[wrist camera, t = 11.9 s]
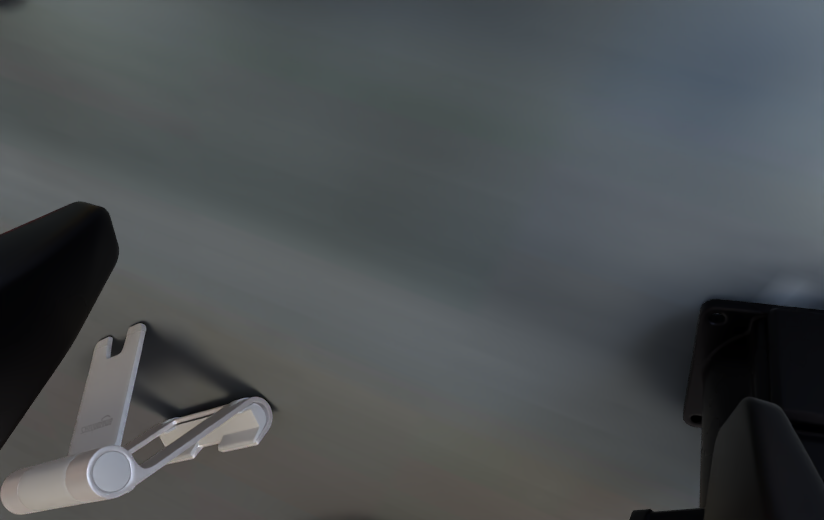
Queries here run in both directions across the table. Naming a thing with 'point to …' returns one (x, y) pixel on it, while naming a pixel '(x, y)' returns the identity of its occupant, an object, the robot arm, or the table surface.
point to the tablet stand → (103, 430)
